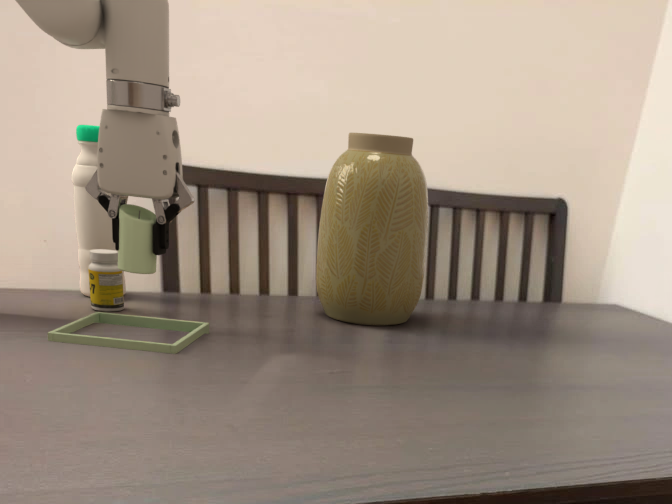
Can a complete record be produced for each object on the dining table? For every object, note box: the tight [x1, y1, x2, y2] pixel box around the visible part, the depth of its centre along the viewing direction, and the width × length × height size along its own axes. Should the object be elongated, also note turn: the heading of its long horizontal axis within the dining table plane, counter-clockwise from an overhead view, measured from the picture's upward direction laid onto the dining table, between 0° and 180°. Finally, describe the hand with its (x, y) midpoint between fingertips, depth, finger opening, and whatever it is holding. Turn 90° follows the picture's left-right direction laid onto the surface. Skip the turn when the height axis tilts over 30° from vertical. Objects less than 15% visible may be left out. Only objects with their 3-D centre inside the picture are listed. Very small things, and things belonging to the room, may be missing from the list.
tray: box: [47, 311, 210, 355], centre depth 90 cm, size 15×13×2 cm
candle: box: [118, 203, 158, 275], centre depth 98 cm, size 5×5×8 cm
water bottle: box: [71, 124, 127, 298], centre depth 114 cm, size 7×7×25 cm
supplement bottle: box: [88, 249, 125, 313], centre depth 108 cm, size 5×5×8 cm
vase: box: [315, 132, 429, 327], centre depth 114 cm, size 17×17×27 cm
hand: (141, 250), depth 98 cm, fingers closed on candle, 4 cm apart
